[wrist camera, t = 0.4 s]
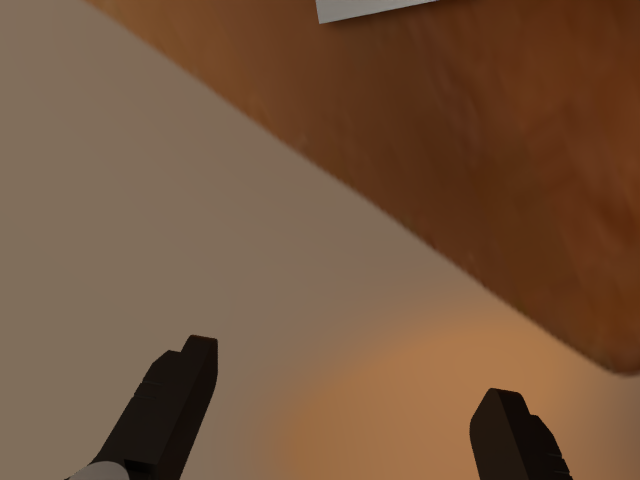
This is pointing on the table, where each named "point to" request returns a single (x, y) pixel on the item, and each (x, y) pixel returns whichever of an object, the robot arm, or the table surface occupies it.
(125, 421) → the robot arm
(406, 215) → the table surface
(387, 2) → the socket block
